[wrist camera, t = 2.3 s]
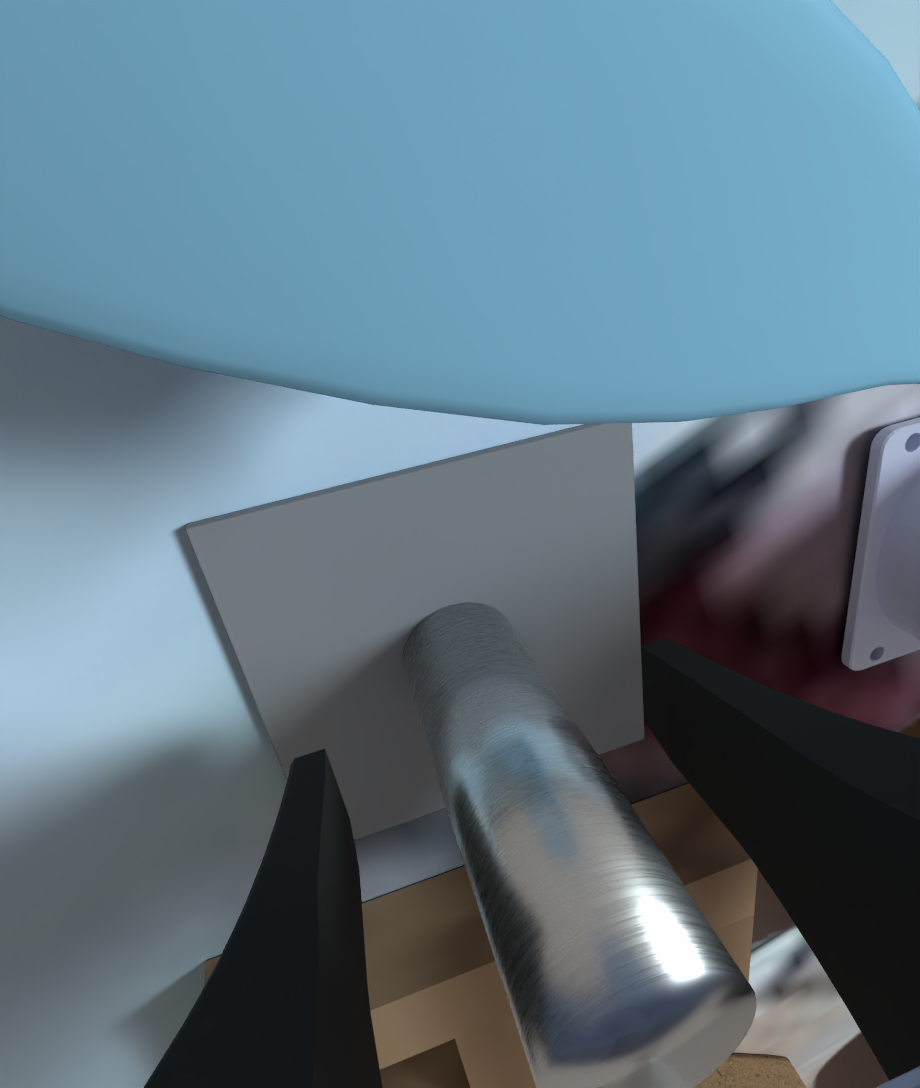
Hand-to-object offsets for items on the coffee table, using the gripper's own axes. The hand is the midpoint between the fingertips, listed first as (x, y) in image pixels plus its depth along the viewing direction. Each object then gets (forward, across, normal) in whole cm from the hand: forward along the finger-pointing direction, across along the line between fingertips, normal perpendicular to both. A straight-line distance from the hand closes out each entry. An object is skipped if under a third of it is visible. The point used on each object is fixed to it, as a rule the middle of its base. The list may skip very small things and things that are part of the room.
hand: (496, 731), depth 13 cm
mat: (+3, 0, 0) cm, 3 cm away
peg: (+3, 0, 0) cm, 3 cm away
